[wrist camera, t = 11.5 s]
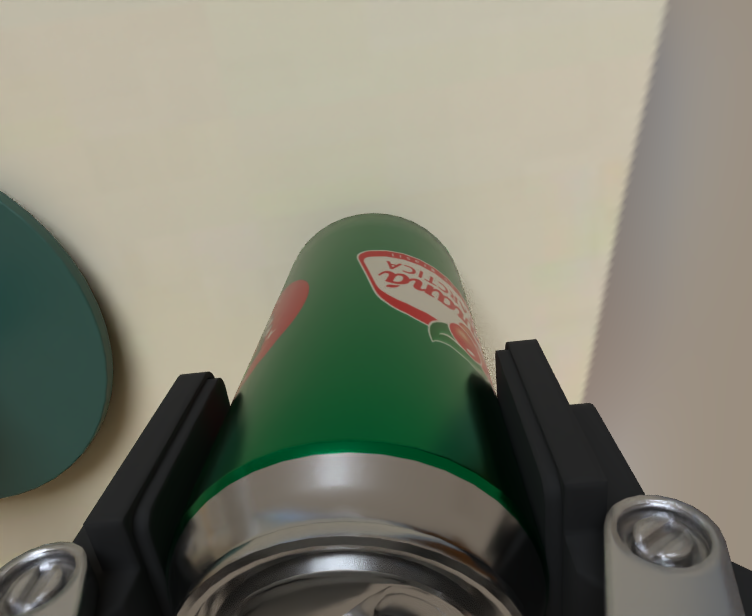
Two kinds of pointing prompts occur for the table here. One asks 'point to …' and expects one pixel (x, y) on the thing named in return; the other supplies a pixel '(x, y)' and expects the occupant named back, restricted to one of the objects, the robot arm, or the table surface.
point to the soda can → (362, 452)
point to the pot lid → (46, 355)
